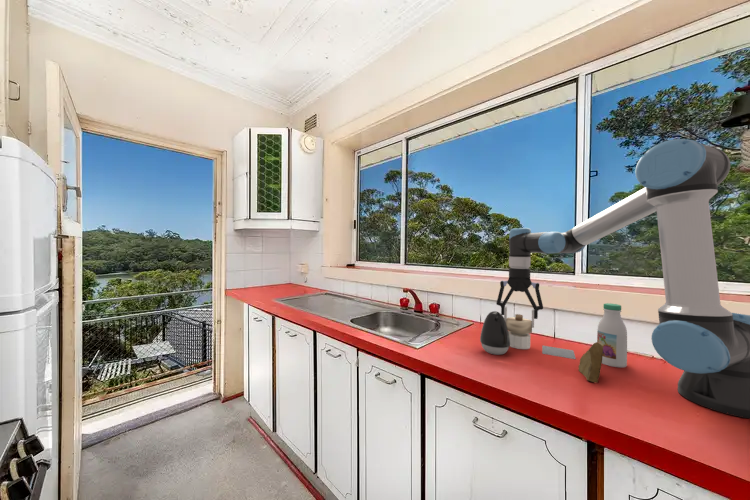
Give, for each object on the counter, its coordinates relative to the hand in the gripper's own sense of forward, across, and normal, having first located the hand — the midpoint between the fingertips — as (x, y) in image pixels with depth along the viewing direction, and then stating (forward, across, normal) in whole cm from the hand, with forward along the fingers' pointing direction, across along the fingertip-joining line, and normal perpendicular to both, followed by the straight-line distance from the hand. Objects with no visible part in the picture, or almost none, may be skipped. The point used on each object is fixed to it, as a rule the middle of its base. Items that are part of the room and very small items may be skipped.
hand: (518, 325), depth 111 cm
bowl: (+8, 0, 0) cm, 8 cm away
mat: (+8, -13, 0) cm, 16 cm away
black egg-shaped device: (+9, +7, +12) cm, 16 cm away
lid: (+2, 0, 0) cm, 2 cm away
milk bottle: (+9, -28, +2) cm, 29 cm away
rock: (+9, -20, +17) cm, 28 cm away
